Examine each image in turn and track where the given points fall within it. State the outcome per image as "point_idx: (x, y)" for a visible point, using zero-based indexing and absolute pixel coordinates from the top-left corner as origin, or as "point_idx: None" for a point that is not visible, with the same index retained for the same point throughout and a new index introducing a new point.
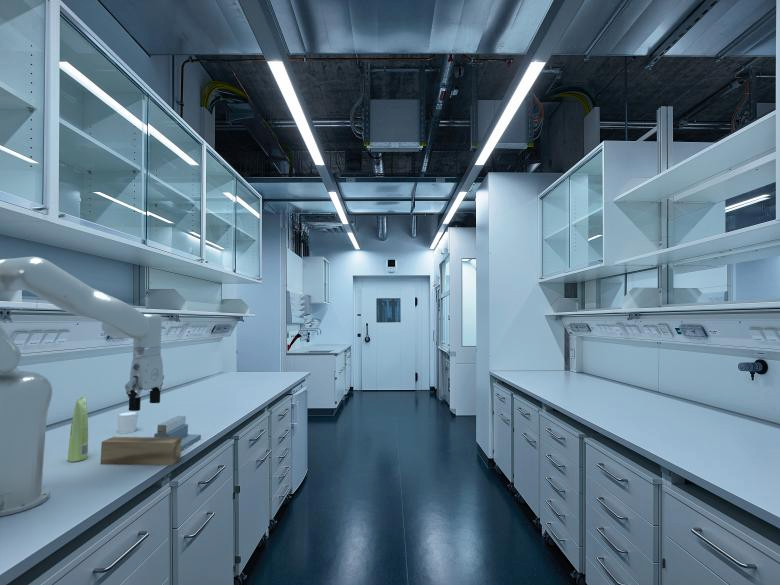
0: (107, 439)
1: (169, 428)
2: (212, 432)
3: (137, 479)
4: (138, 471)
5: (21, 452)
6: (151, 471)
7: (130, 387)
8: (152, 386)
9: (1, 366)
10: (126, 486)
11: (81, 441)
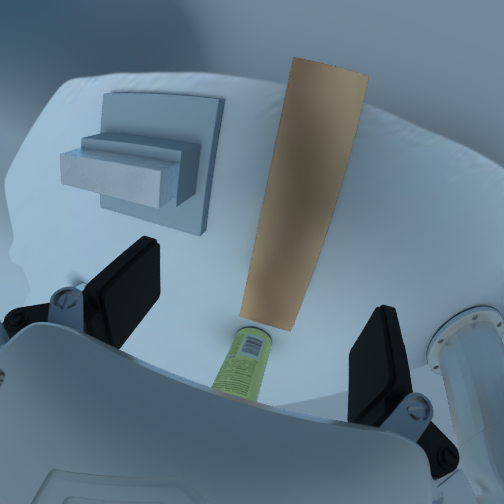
0: (268, 324)
1: (151, 162)
2: (71, 91)
3: (448, 160)
4: (389, 172)
5: None
6: (399, 134)
7: (460, 496)
8: (268, 426)
9: None
10: (481, 177)
11: (256, 368)
